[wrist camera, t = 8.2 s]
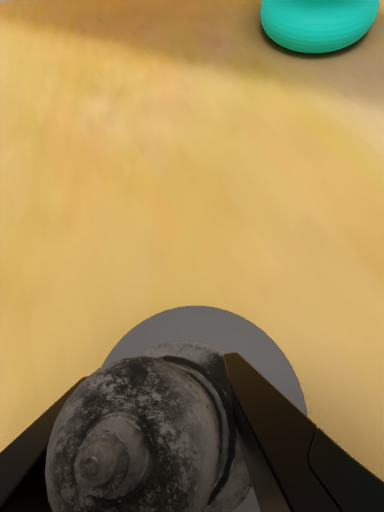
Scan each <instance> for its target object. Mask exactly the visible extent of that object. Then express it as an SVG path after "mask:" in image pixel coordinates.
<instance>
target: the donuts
mask: <svg viewBox="0 0 384 512" xmlns="http://www.w3.org/2000/svg"><path fill="white" fill-rule="evenodd" d="M378 8H379V0H262V4H261V9H260V18H261V23H262V26H263V28H264V30H265V32H266V34H267V35H268V36H269V37H270V38H271V39H272V40H273V41H274V42H276V43H277V44H279V45H280V46H282V47H284V48H287V49H290V50H293V51H297V52H303V53H326V52H331V51H336V50H339V49H342V48H344V47H347V46H349V45H351V44H353V43H354V42H356V41H357V40H359V39H360V38H361V37H362V36H363V35H364V34H365V33H366V32H367V31H368V30H369V29H370V27H371V26H372V24H373V23H374V21H375V18H376V16H377V13H378Z"/></svg>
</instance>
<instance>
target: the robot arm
mask: <svg viewBox="0 0 384 512" xmlns="http://www.w3.org/2000/svg"><path fill="white" fill-rule="evenodd" d="M223 361H224V367H225V373H226V379H227V385H228V390H229V395H230V400H231V406H232V409H233V413H234V418H235V424H236V431H237V436H238V440H239V444H240V447H241V451H242V454H243V457H244V460H245V463H246V466H247V470H248V473H249V476H250V479H251V482H252V486H253V489H254V492H255V495H256V498H257V501H258V505H259V508H260V511H261V512H384V482H383V481H382V480H381V479H379V478H378V477H377V476H375V475H374V474H373V473H372V472H370V471H369V470H368V469H366V468H365V467H364V466H363V465H361V464H360V463H359V462H358V461H356V460H355V459H354V458H353V457H351V456H350V455H349V454H348V453H347V452H346V451H344V450H343V449H342V448H341V447H340V446H339V445H338V444H336V443H335V442H334V441H333V440H332V439H331V438H330V437H329V436H328V435H326V434H325V433H324V432H323V431H322V430H321V429H320V428H317V426H316V424H314V423H313V422H312V421H311V420H310V419H309V418H308V417H307V416H306V415H305V414H304V413H303V412H301V411H300V410H299V409H298V408H297V407H296V406H295V405H294V404H293V403H292V402H291V401H290V400H288V399H287V398H286V397H285V396H284V395H283V394H282V393H281V392H280V391H279V390H278V389H277V388H275V387H274V386H273V385H272V384H271V383H270V382H269V381H268V380H267V379H266V378H265V377H264V376H263V375H261V374H260V373H259V372H258V371H257V370H256V369H255V368H254V367H253V366H252V365H251V364H250V363H248V362H247V361H246V360H245V359H244V358H243V357H242V356H241V355H240V354H239V353H237V352H232V353H226V354H224V355H223ZM87 377H89V376H87ZM87 377H83V378H82V379H80V380H79V381H78V382H77V383H76V384H75V385H74V386H73V387H72V388H71V389H70V390H68V391H67V392H66V393H65V394H64V395H63V396H62V397H61V398H60V399H59V400H58V401H56V402H55V403H54V404H53V405H52V406H51V407H50V408H49V409H48V410H47V411H46V412H44V413H43V414H42V415H41V416H40V417H39V418H38V419H37V420H36V421H35V422H34V423H32V424H31V425H30V426H29V427H28V428H27V429H26V430H25V431H24V432H23V433H21V434H20V435H19V436H18V437H17V438H16V439H15V440H14V441H13V442H12V443H11V444H9V445H8V446H7V447H6V448H5V449H4V450H3V451H2V452H1V453H0V512H52V510H51V507H50V504H49V502H48V496H47V488H46V479H45V466H46V455H47V446H48V443H49V439H50V436H51V433H52V429H53V426H54V423H55V420H56V419H57V417H58V415H59V413H60V411H61V409H62V407H63V406H64V404H65V402H66V400H67V399H68V397H69V396H70V395H71V394H72V393H73V392H74V390H75V389H76V388H77V387H78V386H79V385H80V383H81V382H82V381H83V380H85V379H86V378H87Z"/></svg>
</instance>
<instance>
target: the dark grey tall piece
mask: <svg viewBox="0 0 384 512" xmlns="http://www.w3.org/2000/svg"><path fill="white" fill-rule="evenodd" d="M224 354H226V352H224V351H223V350H221V349H219V348H216V347H214V346H212V345H209V344H207V343H205V342H198V341H191V340H179V341H171V342H165V343H163V344H160V345H158V346H156V347H153V348H151V349H148V350H147V351H146V352H144V353H143V354H142V355H140V356H139V357H132V358H124V359H121V360H118V361H115V362H113V363H111V364H108V365H106V366H104V367H101V368H99V369H98V370H97V371H95V372H94V373H93V374H91V375H90V376H89V377H87V378H86V379H85V380H83V381H82V382H81V383H80V385H79V386H78V387H77V388H76V389H75V390H74V392H73V393H72V394H71V395H70V396H69V397H68V399H67V400H66V402H65V404H64V406H63V407H62V409H61V411H60V413H59V415H58V417H57V419H56V420H55V423H54V426H53V429H52V433H51V436H50V439H49V443H48V446H47V455H46V466H45V479H46V488H47V496H48V502H49V504H50V507H51V510H52V512H232V511H233V510H234V509H235V508H236V507H237V506H239V505H240V504H241V503H242V502H243V501H244V500H245V498H246V497H247V495H248V493H249V492H250V490H251V489H252V487H253V486H252V482H251V479H250V476H249V473H248V470H247V466H246V463H245V460H244V457H243V454H242V451H241V447H240V444H239V440H238V436H237V431H236V424H235V418H234V413H233V409H232V406H231V400H230V395H229V390H228V385H227V379H226V373H225V367H224V361H223V355H224Z"/></svg>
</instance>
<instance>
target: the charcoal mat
mask: <svg viewBox="0 0 384 512" xmlns="http://www.w3.org/2000/svg"><path fill="white" fill-rule="evenodd" d="M179 340H191V341H198V342H205V343H207V344H209V345H212V346H214V347H216V348H219V349H221V350H223V351H224V352H226V353H232V352H237V353H239V354H240V355H241V356H242V357H243V358H244V359H245V360H246V361H247V362H248V363H250V364H251V365H252V366H253V367H254V368H255V369H256V370H257V371H258V372H259V373H260V374H261V375H263V376H264V377H265V378H266V379H267V380H268V381H269V382H270V383H271V384H272V385H273V386H274V387H275V388H277V389H278V390H279V391H280V392H281V393H282V394H283V395H284V396H285V397H286V398H287V399H288V400H290V401H291V402H292V403H293V404H294V405H295V406H296V407H297V408H298V409H299V410H300V411H301V412H303V413H304V414H305V415H306V416H307V409H306V405H305V400H304V396H303V392H302V390H301V387H300V384H299V381H298V378H297V376H296V374H295V372H294V370H293V368H292V366H291V364H290V363H289V361H288V360H287V358H286V356H285V355H284V353H283V352H282V351H281V349H280V348H279V347H278V346H277V345H276V343H275V342H274V341H273V340H272V339H271V338H270V337H269V336H268V335H267V334H266V333H265V332H264V331H262V330H261V329H260V328H258V327H257V326H256V325H254V324H253V323H252V322H250V321H248V320H246V319H245V318H243V317H241V316H239V315H237V314H234V313H232V312H229V311H226V310H222V309H219V308H214V307H207V306H185V307H178V308H174V309H170V310H166V311H163V312H161V313H158V314H156V315H154V316H152V317H150V318H148V319H146V320H144V321H143V322H141V323H140V324H138V325H137V326H135V327H134V328H133V329H132V330H130V331H129V332H128V333H127V334H126V335H125V336H124V337H123V338H122V339H121V340H120V341H119V342H118V343H117V345H116V346H115V347H114V348H113V349H112V351H111V352H110V354H109V355H108V357H107V358H106V360H105V362H104V363H103V365H102V367H104V366H106V365H108V364H111V363H113V362H115V361H118V360H121V359H124V358H132V357H139V356H140V355H142V354H143V353H144V352H146V351H147V350H148V349H151V348H153V347H156V346H158V345H160V344H163V343H165V342H171V341H179ZM232 512H261V511H260V508H259V505H258V501H257V498H256V495H255V492H254V489H253V487H252V489H251V490H250V492H249V493H248V495H247V497H246V498H245V500H244V501H243V502H242V503H241V504H240V505H239V506H237V507H236V508H235V509H234V510H233V511H232Z"/></svg>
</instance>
